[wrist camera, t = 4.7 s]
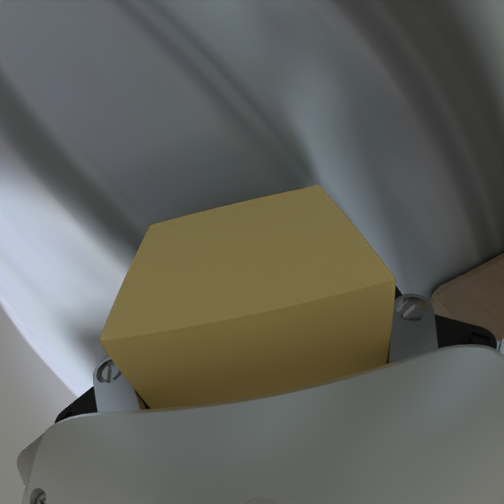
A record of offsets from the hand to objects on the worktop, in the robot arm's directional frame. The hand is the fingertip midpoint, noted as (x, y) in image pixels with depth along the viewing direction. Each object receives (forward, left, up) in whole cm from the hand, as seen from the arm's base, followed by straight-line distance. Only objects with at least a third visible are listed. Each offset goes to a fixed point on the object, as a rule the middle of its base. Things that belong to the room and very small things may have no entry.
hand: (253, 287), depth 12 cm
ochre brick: (0, 0, -1) cm, 1 cm away
